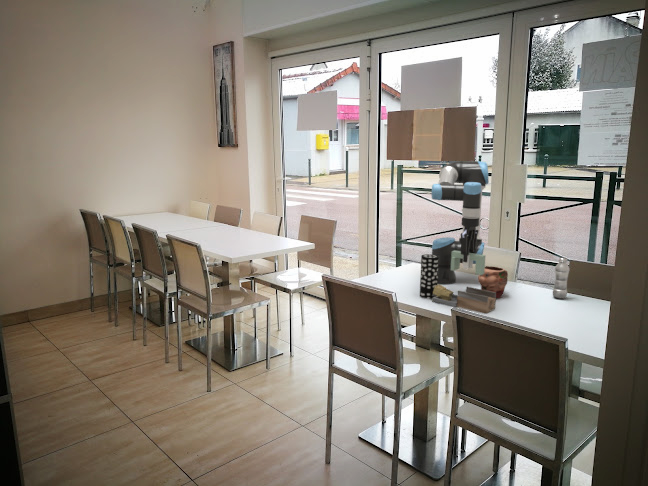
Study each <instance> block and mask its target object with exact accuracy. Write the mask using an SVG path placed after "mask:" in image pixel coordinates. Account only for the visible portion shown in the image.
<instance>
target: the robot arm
mask: <svg viewBox="0 0 648 486" xmlns="http://www.w3.org/2000/svg"><path fill="white" fill-rule="evenodd" d="M438 178H439V181H438V182H437V183H433V184H432V186H431V199H432V200H434V201H451V202H452V201H454V202H455V201H457V202H462V208H461V211H462V213H461V216H462V217H461V226H462V232H461V233H460V237H458V238H459V239H458V240H456V239H455V238H454V237H449V236H448V237H439V238H435V239H434V240H433V241H432V245H431V246H432V247H431V254H432V255H437V256H439V267H438V284H440V285H450V284H451V285H452V284H455V283H456V282H457V277H456V276H457V275H456V272H455V270H454V271H452V270H451V258H452V257H451V254H452V251H454V250H455V251H461V254H462V255H463V259H462V258H460V264H462V270H469V268H471V269H472V268H473V267H474V266H473V265H476V261H473V260H469V257H470V255H469V253H474V254H480V255H484V249H485V242H483V238H482V237H481V236H480V227H481V213H482V201H483V199H482V198H483V190H484V189H486V185H489V167H488V164H487V162H486V161H478V160H477V161H475V160H474V161H473V160H472V161H469V160H468V161H467V160H466V161H465V160H462V161H461V160H457V161H456V160H455V161H453V162H449V163H447V164H445V165H444V166H442V168H441V169H440V171H439V175H438Z"/></svg>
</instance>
